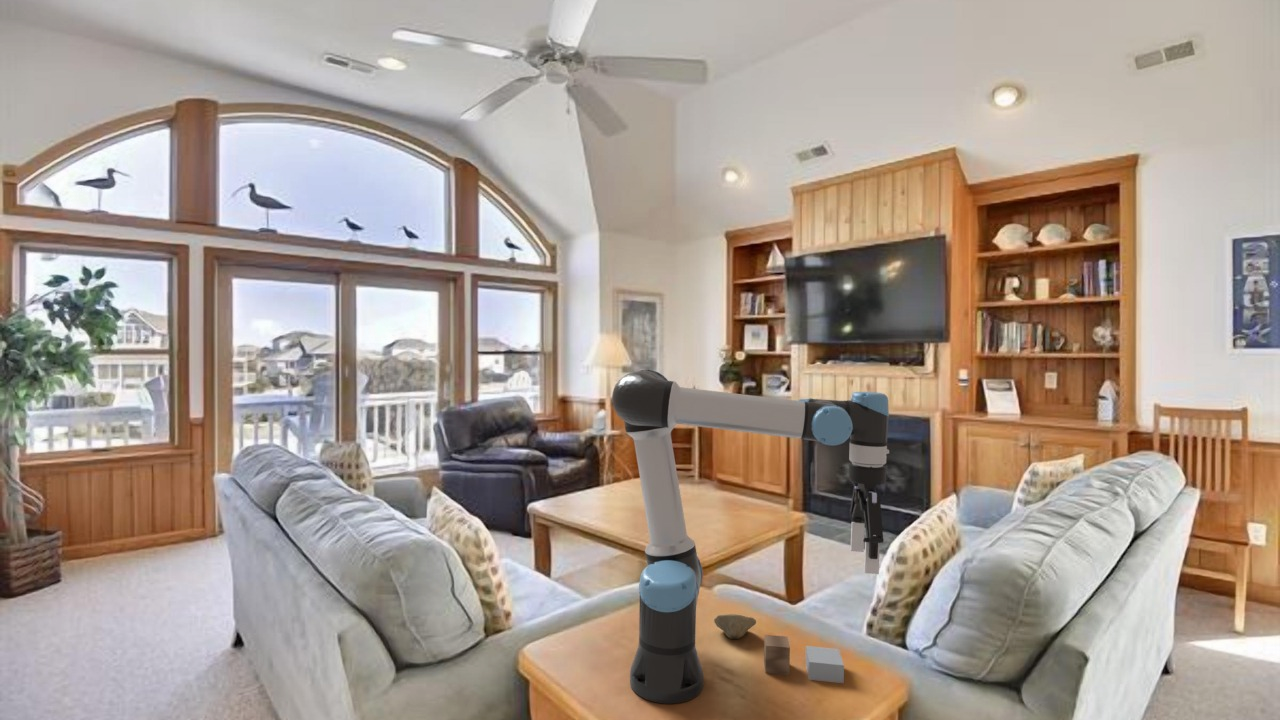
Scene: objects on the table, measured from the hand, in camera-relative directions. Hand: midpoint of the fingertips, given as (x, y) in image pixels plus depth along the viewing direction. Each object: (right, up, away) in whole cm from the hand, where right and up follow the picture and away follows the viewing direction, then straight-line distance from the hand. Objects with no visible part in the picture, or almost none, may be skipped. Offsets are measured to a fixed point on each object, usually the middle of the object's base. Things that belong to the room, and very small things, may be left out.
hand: (863, 561), depth 129 cm
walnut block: (-19, -24, +1) cm, 30 cm away
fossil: (-26, -23, +15) cm, 38 cm away
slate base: (-9, -24, -1) cm, 25 cm away
